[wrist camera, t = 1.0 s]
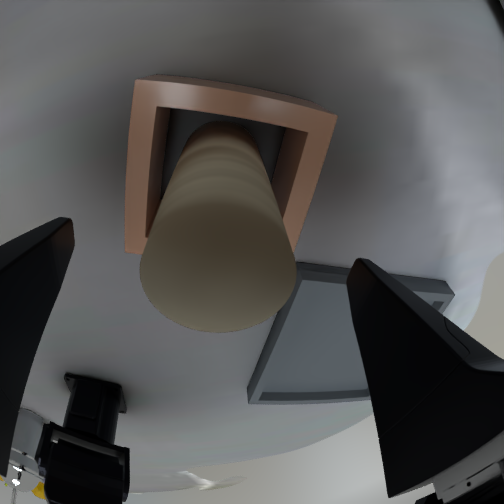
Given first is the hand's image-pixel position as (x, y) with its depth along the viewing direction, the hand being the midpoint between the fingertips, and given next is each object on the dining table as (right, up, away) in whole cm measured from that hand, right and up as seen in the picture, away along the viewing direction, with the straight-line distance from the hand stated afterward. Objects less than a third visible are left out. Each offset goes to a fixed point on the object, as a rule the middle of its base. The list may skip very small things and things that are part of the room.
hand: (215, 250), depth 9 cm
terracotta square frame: (-1, +5, +7) cm, 9 cm away
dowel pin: (-1, +5, +7) cm, 9 cm away
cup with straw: (-34, -26, +25) cm, 50 cm away
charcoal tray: (+9, -8, +17) cm, 21 cm away
